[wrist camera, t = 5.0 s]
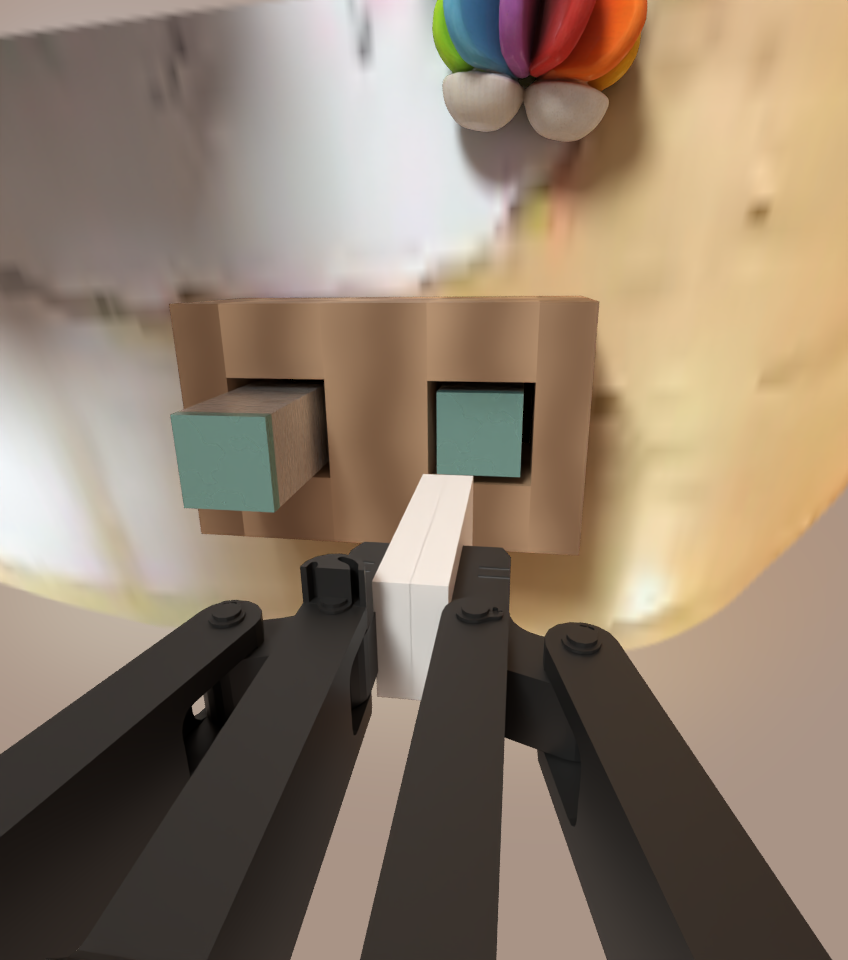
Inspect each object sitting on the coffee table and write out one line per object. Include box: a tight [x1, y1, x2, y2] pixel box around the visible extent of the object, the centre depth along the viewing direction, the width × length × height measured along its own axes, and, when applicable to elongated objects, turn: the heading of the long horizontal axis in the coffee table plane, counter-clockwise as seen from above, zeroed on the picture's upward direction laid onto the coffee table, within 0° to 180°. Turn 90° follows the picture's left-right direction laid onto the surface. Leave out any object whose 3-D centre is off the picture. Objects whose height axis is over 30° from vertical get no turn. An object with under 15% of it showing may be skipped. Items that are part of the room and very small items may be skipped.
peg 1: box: [170, 382, 329, 512], centre depth 28 cm, size 4×4×8 cm
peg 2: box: [437, 381, 524, 477], centre depth 32 cm, size 4×4×8 cm
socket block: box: [169, 296, 599, 555], centre depth 33 cm, size 20×12×8 cm, turn 91°
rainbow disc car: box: [432, 0, 647, 142], centre depth 26 cm, size 8×10×7 cm
